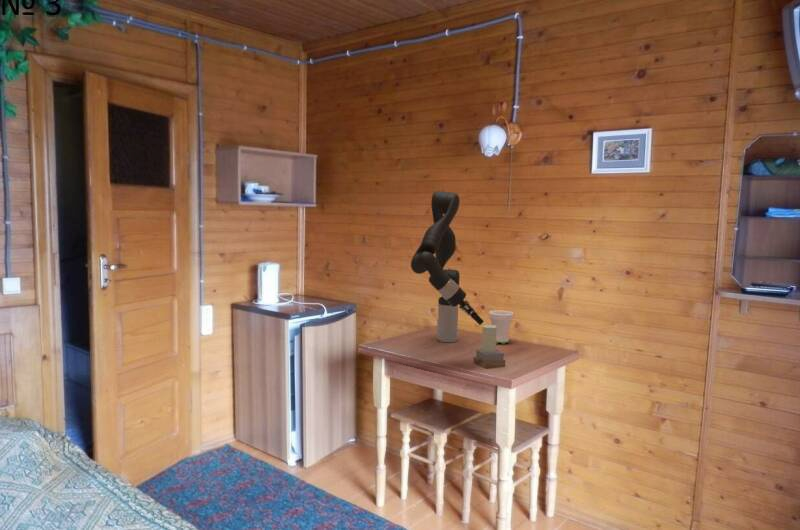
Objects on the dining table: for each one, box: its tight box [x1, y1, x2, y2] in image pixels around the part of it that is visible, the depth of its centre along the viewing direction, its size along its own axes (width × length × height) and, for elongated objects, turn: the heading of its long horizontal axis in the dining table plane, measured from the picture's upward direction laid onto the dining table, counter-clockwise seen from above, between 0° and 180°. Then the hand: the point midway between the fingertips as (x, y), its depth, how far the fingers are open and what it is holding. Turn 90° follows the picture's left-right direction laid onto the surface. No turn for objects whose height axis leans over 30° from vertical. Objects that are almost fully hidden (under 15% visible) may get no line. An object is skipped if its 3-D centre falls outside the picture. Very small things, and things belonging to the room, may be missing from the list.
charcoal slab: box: [475, 348, 504, 362], centre depth 230 cm, size 8×8×3 cm
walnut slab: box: [472, 356, 506, 370], centre depth 231 cm, size 9×9×3 cm
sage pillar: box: [481, 324, 497, 353], centre depth 230 cm, size 5×5×10 cm
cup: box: [488, 309, 514, 345], centre depth 267 cm, size 11×11×14 cm
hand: (479, 320), depth 229 cm, fingers open, 8 cm apart
